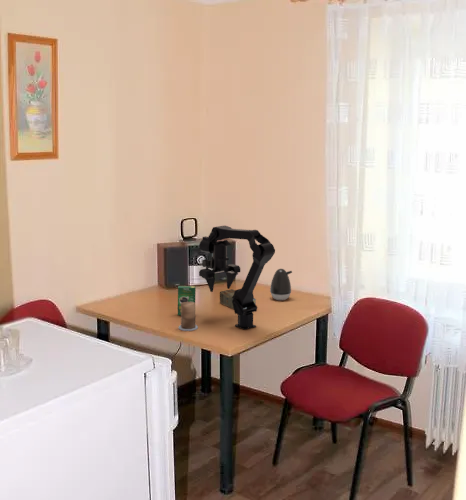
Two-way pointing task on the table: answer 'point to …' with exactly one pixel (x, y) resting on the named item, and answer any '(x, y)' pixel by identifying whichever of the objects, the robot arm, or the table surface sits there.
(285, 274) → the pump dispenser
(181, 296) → the coffee box
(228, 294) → the beverage carton
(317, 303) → the table surface
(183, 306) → the brown rounded cylinder
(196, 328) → the slate pad
